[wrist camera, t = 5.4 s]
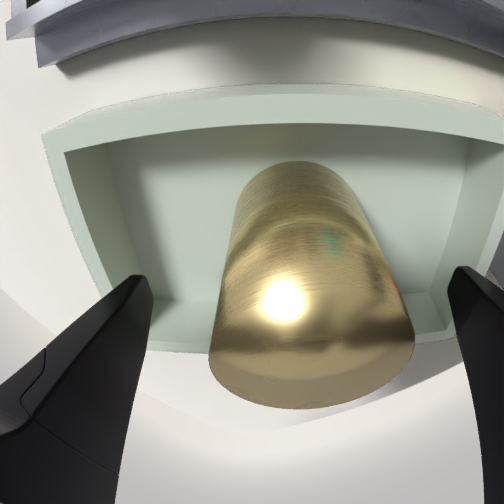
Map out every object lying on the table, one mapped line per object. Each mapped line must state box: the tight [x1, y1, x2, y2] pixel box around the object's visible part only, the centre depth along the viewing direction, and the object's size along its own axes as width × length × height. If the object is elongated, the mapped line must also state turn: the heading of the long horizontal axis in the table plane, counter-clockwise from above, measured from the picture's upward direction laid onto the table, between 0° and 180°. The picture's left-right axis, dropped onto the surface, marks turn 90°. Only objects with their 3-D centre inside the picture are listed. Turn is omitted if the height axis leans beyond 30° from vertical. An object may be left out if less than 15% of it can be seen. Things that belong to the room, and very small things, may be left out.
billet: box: [208, 161, 415, 409], centre depth 8 cm, size 4×4×6 cm
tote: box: [41, 83, 504, 354], centre depth 10 cm, size 14×9×3 cm, turn 94°
